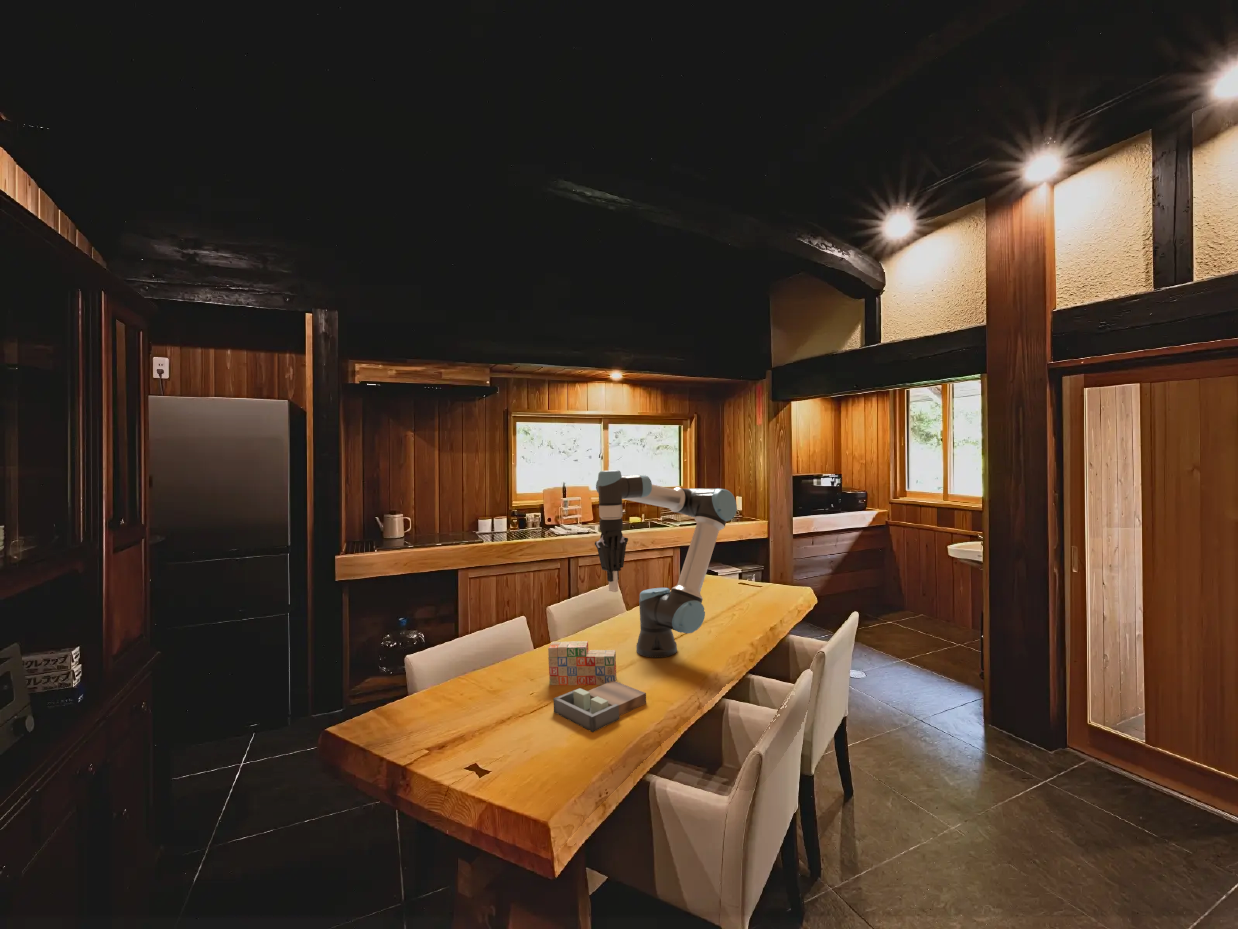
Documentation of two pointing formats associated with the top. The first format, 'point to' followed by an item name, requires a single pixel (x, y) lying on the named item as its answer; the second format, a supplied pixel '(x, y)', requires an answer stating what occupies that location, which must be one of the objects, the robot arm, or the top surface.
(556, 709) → the tray
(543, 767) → the top surface
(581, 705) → the tile
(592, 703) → the tile
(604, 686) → the board
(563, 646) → the stack of blocks
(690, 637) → the top surface
